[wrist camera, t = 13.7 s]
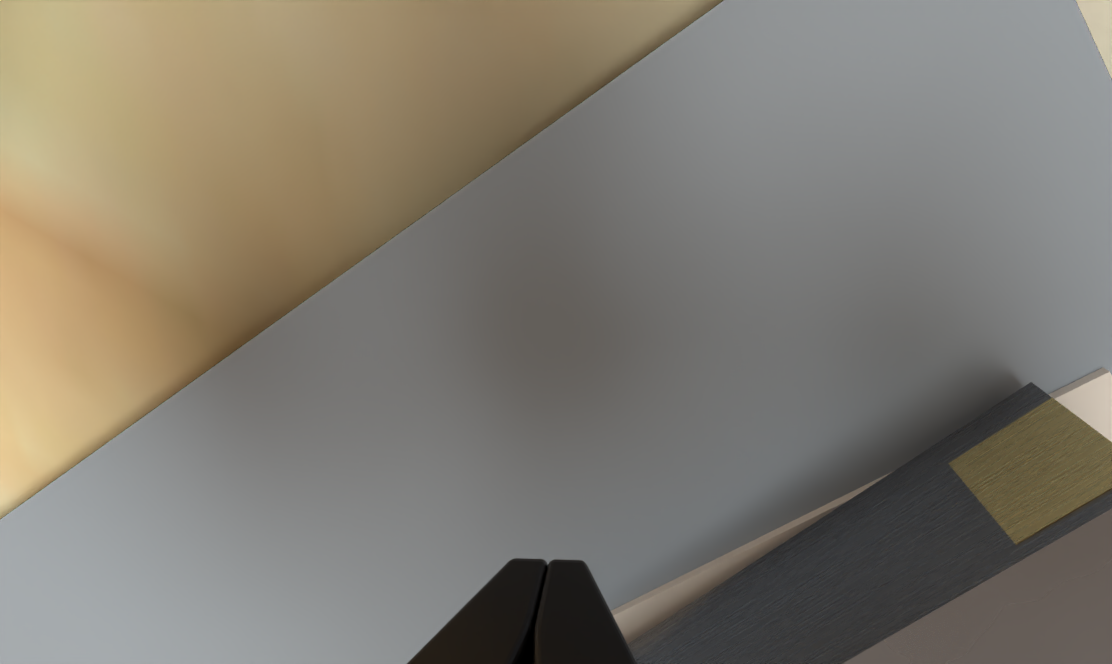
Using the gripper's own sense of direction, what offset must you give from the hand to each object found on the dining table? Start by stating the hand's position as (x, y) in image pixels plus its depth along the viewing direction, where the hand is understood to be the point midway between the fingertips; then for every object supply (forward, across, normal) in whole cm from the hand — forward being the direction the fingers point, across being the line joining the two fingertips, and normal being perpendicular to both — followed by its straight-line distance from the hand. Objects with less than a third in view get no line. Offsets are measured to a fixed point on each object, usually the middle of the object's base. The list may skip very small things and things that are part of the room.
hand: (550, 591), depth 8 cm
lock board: (+8, +1, +8) cm, 11 cm away
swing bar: (+6, -4, +5) cm, 9 cm away
